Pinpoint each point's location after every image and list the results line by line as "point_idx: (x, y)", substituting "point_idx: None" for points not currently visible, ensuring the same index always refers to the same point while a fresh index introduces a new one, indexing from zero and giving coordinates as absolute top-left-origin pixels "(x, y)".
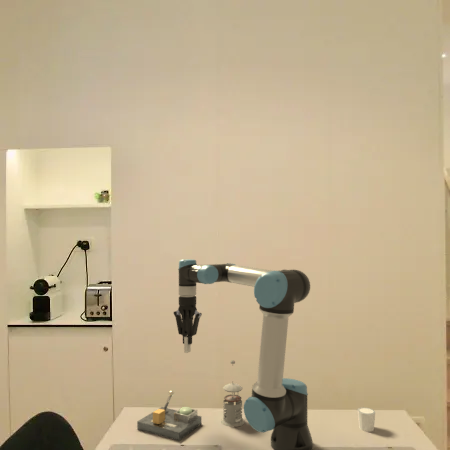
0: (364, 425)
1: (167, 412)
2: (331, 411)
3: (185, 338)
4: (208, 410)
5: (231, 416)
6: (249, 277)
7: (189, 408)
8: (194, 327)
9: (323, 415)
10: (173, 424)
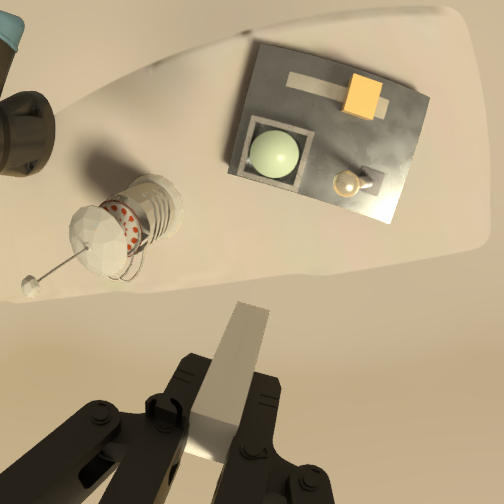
0: None
1: None
2: (17, 295)
3: (224, 405)
4: (242, 267)
5: (135, 186)
6: None
7: (263, 166)
8: (18, 469)
9: (19, 276)
10: (301, 91)
